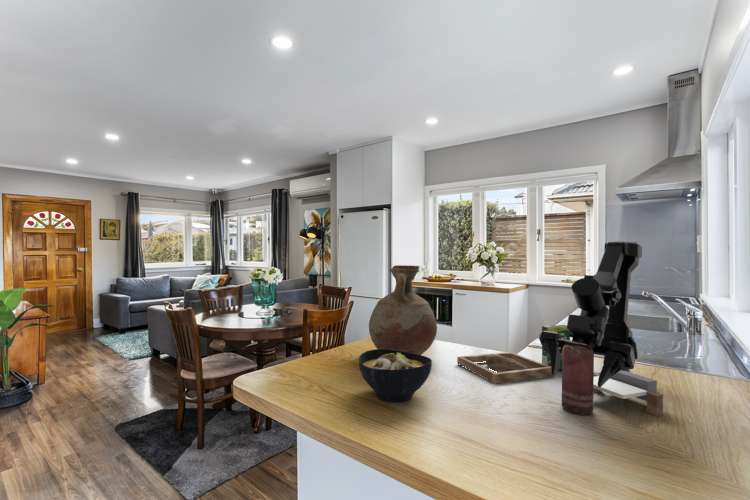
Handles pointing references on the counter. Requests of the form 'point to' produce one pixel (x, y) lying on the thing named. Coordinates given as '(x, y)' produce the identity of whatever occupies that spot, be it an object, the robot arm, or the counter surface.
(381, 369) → the bowl
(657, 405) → the frame
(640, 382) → the trapdoor
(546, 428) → the counter surface
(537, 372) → the wooden tray
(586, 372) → the can
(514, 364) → the oyster shell
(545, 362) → the coffee box
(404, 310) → the jug
